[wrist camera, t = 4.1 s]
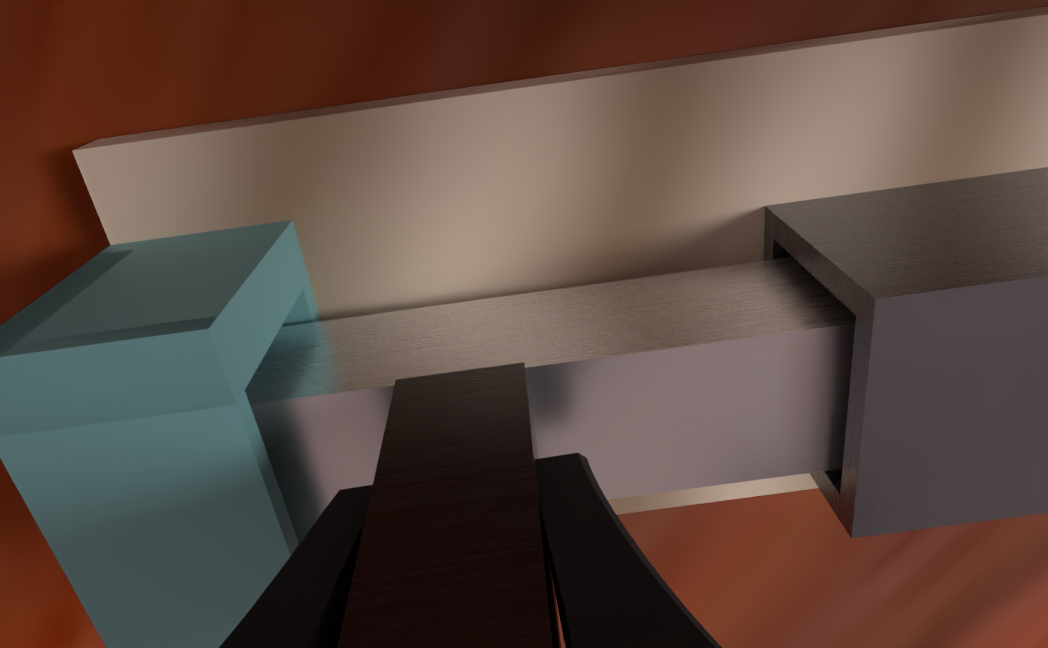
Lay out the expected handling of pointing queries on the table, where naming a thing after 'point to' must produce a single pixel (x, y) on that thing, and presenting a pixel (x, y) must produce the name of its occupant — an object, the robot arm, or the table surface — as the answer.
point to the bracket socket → (156, 429)
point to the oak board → (592, 168)
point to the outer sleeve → (935, 346)
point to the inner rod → (540, 427)
